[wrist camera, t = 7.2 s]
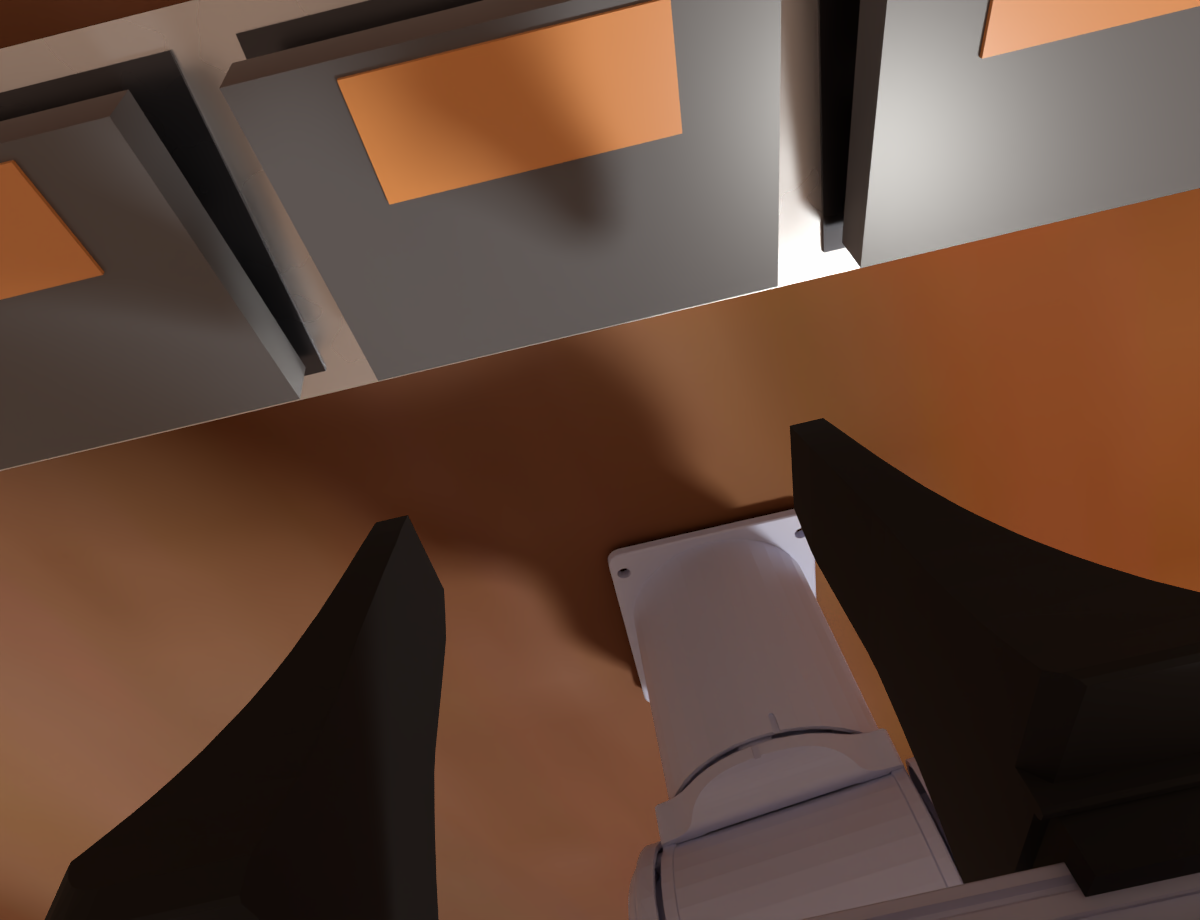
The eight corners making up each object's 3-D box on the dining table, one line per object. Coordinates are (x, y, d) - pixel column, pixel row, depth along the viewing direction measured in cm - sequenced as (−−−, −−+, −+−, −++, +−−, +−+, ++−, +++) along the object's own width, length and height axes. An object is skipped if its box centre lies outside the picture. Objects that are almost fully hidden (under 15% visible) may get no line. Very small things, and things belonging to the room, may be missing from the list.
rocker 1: (308, 355, 19) (299, 401, 18) (-55, 441, 19) (-87, 493, 18) (135, 78, 14) (107, 119, 13) (-357, 202, 14) (-431, 252, 13)
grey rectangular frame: (1224, 140, 18) (1280, 171, 17) (834, 232, 19) (862, 270, 17) (1395, -237, 13) (1492, -230, 12) (857, -103, 14) (898, -83, 12)
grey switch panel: (1178, 149, 22) (1271, 177, 19) (-12, 432, 23) (-79, 496, 20) (1289, -280, 16) (1439, -322, 14) (-282, 117, 17) (-420, 148, 15)
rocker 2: (757, 248, 19) (779, 288, 18) (381, 338, 19) (378, 383, 18) (753, -76, 14) (783, -51, 12) (237, 53, 14) (217, 90, 13)
